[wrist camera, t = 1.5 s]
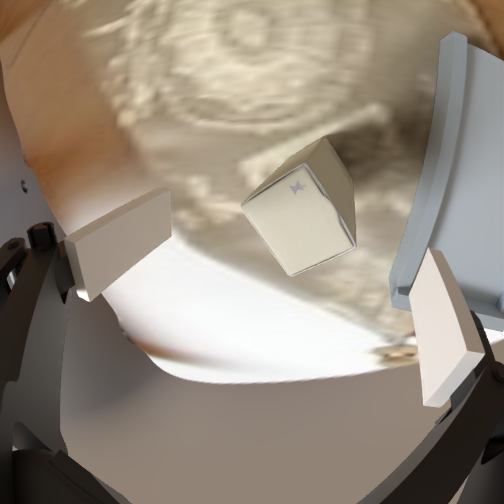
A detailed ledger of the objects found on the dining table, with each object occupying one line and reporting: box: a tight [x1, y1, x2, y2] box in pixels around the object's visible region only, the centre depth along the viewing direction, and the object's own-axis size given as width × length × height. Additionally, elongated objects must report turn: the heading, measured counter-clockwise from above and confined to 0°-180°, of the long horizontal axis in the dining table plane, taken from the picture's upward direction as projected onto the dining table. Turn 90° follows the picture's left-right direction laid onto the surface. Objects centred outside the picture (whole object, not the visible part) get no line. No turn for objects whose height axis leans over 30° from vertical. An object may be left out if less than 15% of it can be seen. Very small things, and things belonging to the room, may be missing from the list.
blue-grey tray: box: [389, 31, 504, 332], centre depth 17 cm, size 24×14×5 cm, turn 175°
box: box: [241, 136, 356, 276], centre depth 19 cm, size 5×4×13 cm
